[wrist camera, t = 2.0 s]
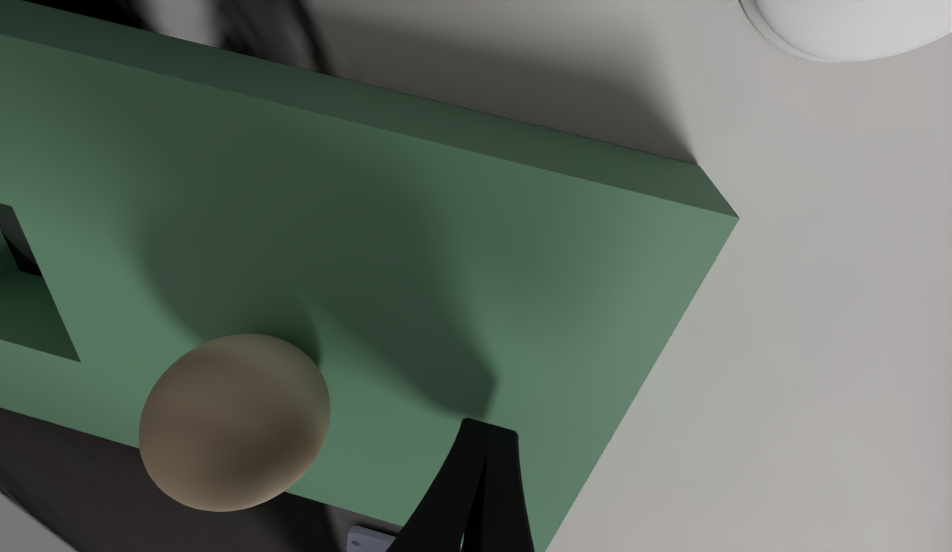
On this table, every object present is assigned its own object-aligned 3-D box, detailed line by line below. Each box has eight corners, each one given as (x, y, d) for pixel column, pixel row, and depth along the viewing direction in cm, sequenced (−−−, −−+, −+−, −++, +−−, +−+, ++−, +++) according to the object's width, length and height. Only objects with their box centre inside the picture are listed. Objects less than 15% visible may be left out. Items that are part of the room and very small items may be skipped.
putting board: (699, 165, 10) (739, 217, 8) (541, 488, 18) (536, 565, 16) (-200, -54, 12) (-411, -69, 9) (11, 336, 19) (-72, 385, 17)
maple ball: (354, 424, 13) (280, 568, 10) (229, 389, 13) (116, 517, 10) (359, 325, 11) (267, 466, 8) (210, 284, 11) (57, 404, 8)
